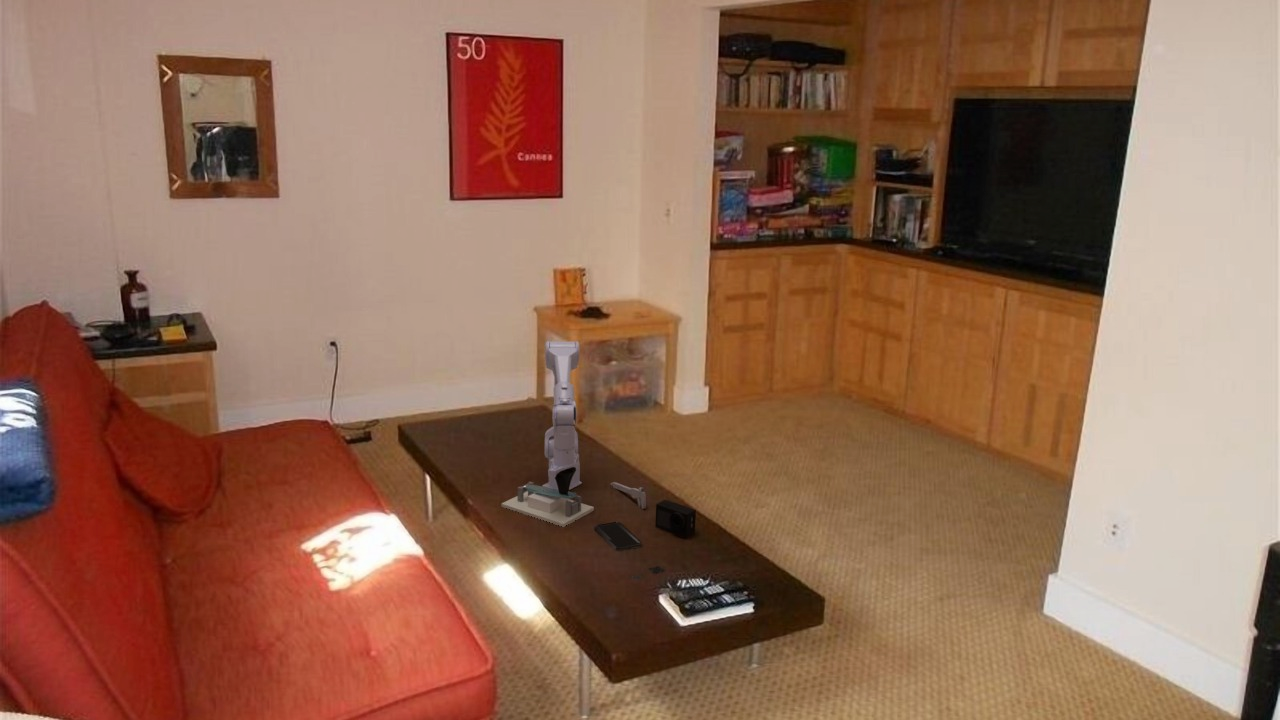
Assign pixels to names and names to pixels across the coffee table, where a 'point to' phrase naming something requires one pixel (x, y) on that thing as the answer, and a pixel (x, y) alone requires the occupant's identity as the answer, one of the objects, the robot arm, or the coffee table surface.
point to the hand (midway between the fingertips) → (563, 493)
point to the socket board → (543, 515)
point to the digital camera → (675, 518)
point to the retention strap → (548, 491)
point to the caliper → (633, 493)
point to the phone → (617, 536)
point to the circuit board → (654, 570)
